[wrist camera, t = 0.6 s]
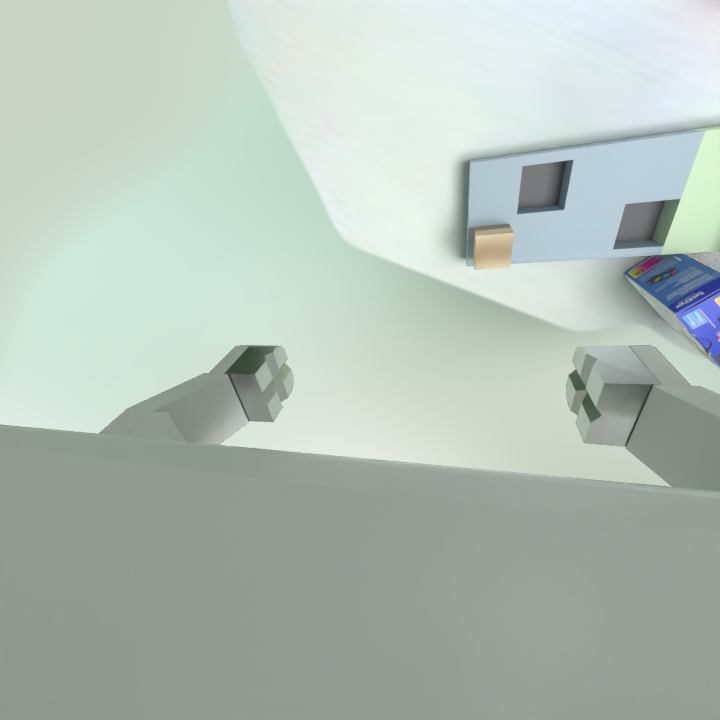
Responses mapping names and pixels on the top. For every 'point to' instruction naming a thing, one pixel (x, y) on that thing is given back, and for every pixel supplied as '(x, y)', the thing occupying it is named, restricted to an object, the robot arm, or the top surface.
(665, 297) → the ink cartridge box
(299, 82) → the top surface
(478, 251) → the beech block
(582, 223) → the trap board
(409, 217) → the top surface
